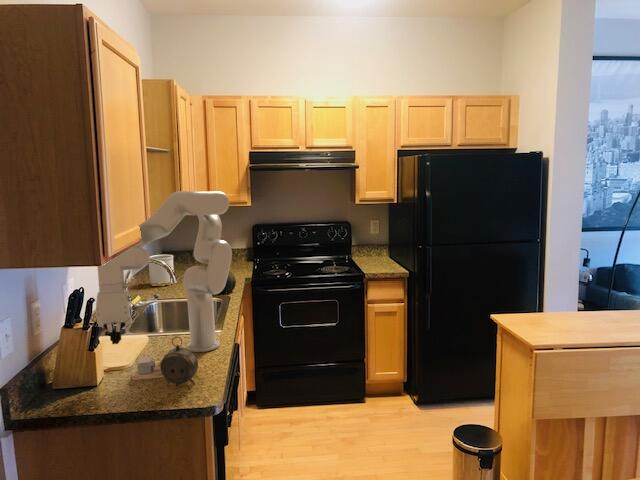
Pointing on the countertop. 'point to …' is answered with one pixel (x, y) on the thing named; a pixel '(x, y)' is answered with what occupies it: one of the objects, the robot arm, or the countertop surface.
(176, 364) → the alarm clock
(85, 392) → the countertop surface
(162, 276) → the utensil holder
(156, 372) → the track
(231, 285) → the squash
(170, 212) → the robot arm
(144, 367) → the block
